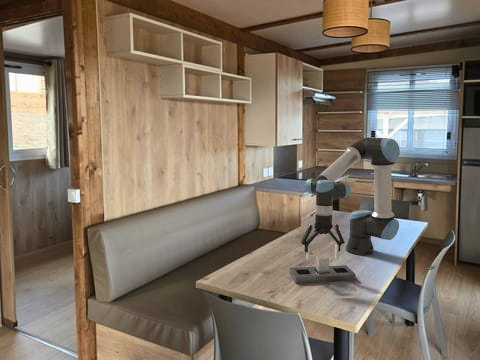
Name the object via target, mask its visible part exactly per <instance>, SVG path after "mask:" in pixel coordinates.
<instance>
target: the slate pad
mask: <svg viewBox="0 0 480 360" xmlns="http://www.w3.org/2000/svg"><path fill="white" fill-rule="evenodd" d="M327 283H328V285H330V287H331V288H332V289H333V291H335V292H352V291H354V292H355V291H358V289H357V288H356V287H355V286H354V285H353V284H352V282H351V281H343V282H327Z"/></svg>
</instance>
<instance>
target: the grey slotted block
mask: <svg viewBox="0 0 480 360" xmlns="http://www.w3.org/2000/svg"><path fill="white" fill-rule="evenodd" d="M289 275H290V276H291V278H292V281H293V282H294V283H295V285H300V284H318V283H319V284H320V283H328V282H343V281H350V282H356V278H357V277H356V275H357V274H356V273H355V272H354V271H353V270H352V269H351V268H350V267H349V266H347V264H346V265H329V270H328V273H325V274H317V272H316V266H301V267H300V266H299V267H289Z"/></svg>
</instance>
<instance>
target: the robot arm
mask: <svg viewBox="0 0 480 360" xmlns="http://www.w3.org/2000/svg"><path fill="white" fill-rule="evenodd" d="M400 153H401V150H400V145H399V144H398V141H396V140H395V139H394V138H390V137H388V138H387V137H371V136H370V137H363V138H361V139H359V140H357V141H355V142H353V143H351V144H350V145H349V146H347V147H346V149H345V151H344V153H342V155H340V156H339V157H338V158H337V159H336V160H334V162H332V163H331V164H330V165H329V166H328V167H327V168H326V169H325V170H323V171H322V172H321V173H320V174H319V175H318V176H317V177H315V178H308V179H307V180H306V182H304V183H305V184H304V189H305V192H307V193H308V194H311V195H315V196H316V197H315V213H316V214H315V219H314V224H311V223H308V224H307V229H306V231H305V233H304V234H303V237H302V238H301V240H300V244H302V245H303V246H304V248H303V249H304V252H305V253H306V255H305V258H306V259H307V260H308V261H310V257H311V255H310V253H311V252H310V251H311V246H310V244H311V243H312V242H313V240H315V238H316V237H317V236H318V235H330V237H331V238H332V239H333V240H334V241H335V244H334V258H335V259H336V260H338V259H339V252H341V246H342V245H344V244H345V243H346V245H345V251H346V252H347V253H349V254H352V255H353V254H354V255H359V256H360V255H361V256H366V255H367V256H368V255H371V254H374V252H375V251H374V249H375V247H374V245H373V241H372V237H374V238H377V239H380V240H387V241H391V240H393V239H394V238H395V237H396V236H397V234H398V231H399V230H400V229H399V228H400V222H399V220H398V219H396V218H395V213H394V212H393V211H392V171H393V170H392V167H393V166H395V164H396V163H395V162H397V161H398V160H399V159H400V158H399V157H400ZM362 160H369V161H370V165H371V166H372V167H373V182H374V183H373V192H374V193H373V195H374V196H373V197H374V199H373V200H374V205H373V209H374V211H372V210H369V209H362V210H360V209H359V210H354V211H351V212H350V215H349V217H350V218H349V237H348V239H347V242H345V240H344V237H343V235H342V233H341V231H340V227H339V226H340V225H339V224H338V223H336V222H335V223H334V224H333V205H334V204H333V201H334V200H339V199H345V198H347V197H349V196H350V195H351V192H352V191H351V190H352V189H351V186H350V184H349V183H347V182H345V181H339V182H336V181H337V180H338V179H339V178H340V177H342V176H343V175H344V173H346V172H347V171H348V170H349V169H350V168H351V167H352V166H353V165H354V164H358V163H360V162H361V161H362ZM314 229H315V230H314ZM332 229H334V230H335V232H336V233H335V234H336V235H337V237H338V238H337V237H336V236H335V234H334V233H333V232H332ZM312 230H314V231H313V232H312ZM311 232H312V233H311ZM310 234H311V235H310Z"/></svg>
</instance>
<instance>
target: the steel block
mask: <svg viewBox="0 0 480 360" xmlns="http://www.w3.org/2000/svg"><path fill="white" fill-rule="evenodd" d="M329 262H330V258H329V256H327V255H326V254H318V255H315V267H316V272H317V274H325V273H328V270H329V266H330V263H329Z"/></svg>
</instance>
